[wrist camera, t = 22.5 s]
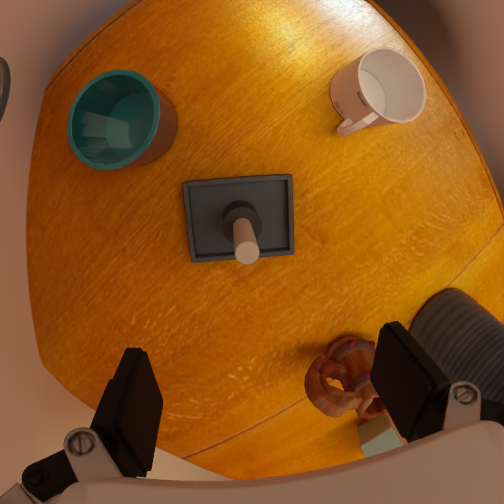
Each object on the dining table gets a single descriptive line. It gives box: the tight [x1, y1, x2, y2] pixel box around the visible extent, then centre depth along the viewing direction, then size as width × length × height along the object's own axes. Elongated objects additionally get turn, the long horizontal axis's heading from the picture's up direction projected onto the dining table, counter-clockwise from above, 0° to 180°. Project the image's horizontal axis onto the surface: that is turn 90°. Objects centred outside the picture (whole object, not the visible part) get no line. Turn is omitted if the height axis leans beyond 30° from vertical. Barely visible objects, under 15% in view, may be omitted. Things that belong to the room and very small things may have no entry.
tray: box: [183, 174, 294, 263], centre depth 36 cm, size 13×10×2 cm
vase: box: [410, 289, 504, 403], centre depth 32 cm, size 16×16×32 cm
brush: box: [222, 200, 262, 265], centre depth 30 cm, size 4×4×14 cm
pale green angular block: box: [358, 413, 409, 458], centre depth 47 cm, size 17×8×21 cm
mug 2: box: [305, 336, 388, 420], centre depth 38 cm, size 15×8×15 cm, turn 76°
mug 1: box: [330, 47, 426, 136], centre depth 29 cm, size 12×9×9 cm
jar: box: [67, 69, 178, 170], centre depth 28 cm, size 10×10×10 cm
